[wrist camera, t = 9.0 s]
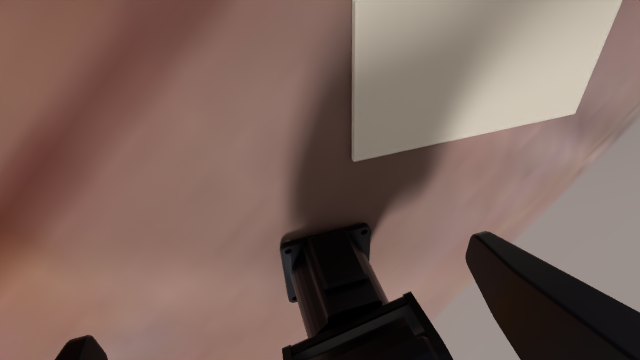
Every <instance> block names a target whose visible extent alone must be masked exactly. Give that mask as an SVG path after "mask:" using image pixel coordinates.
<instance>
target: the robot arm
mask: <svg viewBox="0 0 640 360" xmlns="http://www.w3.org/2000/svg"><path fill="white" fill-rule="evenodd" d="M370 235H371V230H370V227H369V226H368V224H366V223H362V224H358V225H354V226H350V227H346V228H342V229H338V230H334V231H330V232H326V233H322V234H318V235H314V236H310V237H306V238H302V239H298V240H294V241H290V242H286V243H284V244H282V245H281V246H280V253H281V259H282V265H283V271H284V277H285V283H286V288H287V294H288V299H289V301H290V302H292V303H294V302H298V304H299V308H300V311H301V315H302V318H303V322H304V325H305V329H306V332H307V336H308V339H306V340H304V341H301V342H299V343H297V344H295V345H292V346H291V345H289V346H286V347H284V348H282V353H283V360H453V358H452V356H451V355H450V353H449V351H448V349H447V347H446V346H445V344H444V342H443V340H442V339H441V337H440V336H439V334H438V333H437V331H436V330H435V328H434V326H433V325H432V323H431V322H430V320H429V319H428V317H427V316H426V314H425V313H424V311H423V310H422V308H421V307H420V305H419V303H418V302H417V300H416V299H415V297H414V296H413V294H412V293H411V291H410V292H408V293H406V294H403V297H400V298H398V299H396V300H394V301H391V302H389V301H388V299H387V297H386V295H385V293H384V291H383V289H382V287H381V285H380V283H379V281H378V279H377V277H376V275H375V273H374V271H373V269H372V267H371V265H370V263H369V254H370ZM287 249H288V250H287ZM466 263H467V265H468V267H469V269H470V271H471V273H472V275H473V277H474V279H475V281H476V283H477V285H478V287H479V289H480V291H481V293H482V295H483V297H484V299H485V301H486V303H487V305H488V307H489V309H490V311H491V313H492V314H493V317H494V318H495V320H496V321H497V323H498V325H499V327H500V328H501V330H502V331H503V333H504V334H505V336H506V337H507V339H508V341H509V342H510V344H511V345H512V347H513V348H514V350H515V352H516V353H517V355H518V356H519V358H520V359H521V360H640V312H638V311H636V310H634V309H632V308H630V307H628V306H627V305H625V304H623V303H621V302H619V301H617V300H615V299H613V298H612V297H610V296H608V295H606V294H604V293H602V292H601V291H599V290H597V289H595V288H593V287H591V286H589V285H588V284H586V283H584V282H582V281H580V280H578V279H576V278H575V277H573V276H571V275H569V274H567V273H565V272H563V271H562V270H559V269H558V268H556V267H554V266H552V265H550V264H548V263H547V262H545V261H543V260H541V259H539V258H537V257H536V256H534V255H532V254H530V253H528V252H526V251H524V250H522V249H521V248H519V247H517V246H515V245H513V244H511V243H510V242H508V241H506V240H504V239H502V238H500V237H498V236H496V235H495V234H493V233H491V232H488V231H484V232H480V233H476V234H473V235H472V236H471V238H470V241H469V245H468V248H467V252H466ZM55 360H108V358H107V355H106V353H105V352H104V350H103V349H102V348H101V347H100V345H99V344H98V343H97V341H96V340H95V339H94V337H93V336H90V335H86V336H82V337H79V338H75V339H72V340H70V341H68V342H67V343H66V344H65V346H64V347H63V349H62V350H61V351H60V353H59V354H58V356H57V357H56V359H55Z"/></svg>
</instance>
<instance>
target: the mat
mask: <svg viewBox="0 0 640 360" xmlns="http://www.w3.org/2000/svg"><path fill="white" fill-rule="evenodd" d="M621 2H622V0H352V160H353V161H354V162H356V161H360V160H365V159H370V158H374V157H379V156H383V155H388V154H393V153H397V152H402V151H406V150H411V149H416V148H420V147H425V146H429V145H434V144H439V143H443V142H448V141H452V140H457V139H461V138H466V137H471V136H475V135H480V134H484V133H489V132H494V131H498V130H503V129H507V128H512V127H517V126H521V125H526V124H530V123H535V122H540V121H544V120H549V119H553V118H558V117H562V116H567V115H572V114H575V112H576V110H577V108H578V105H579V103H580V101H581V98H582V96H583V93H584V91H585V89H586V86H587V84H588V81H589V79H590V77H591V74H592V72H593V69H594V67H595V65H596V62H597V60H598V57H599V55H600V53H601V50H602V48H603V45H604V43H605V41H606V38H607V36H608V33H609V31H610V29H611V26H612V24H613V22H614V19H615V17H616V14H617V12H618V10H619V7H620V5H621Z"/></svg>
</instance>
